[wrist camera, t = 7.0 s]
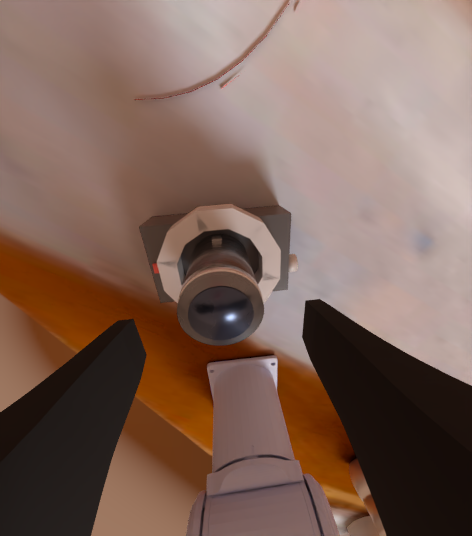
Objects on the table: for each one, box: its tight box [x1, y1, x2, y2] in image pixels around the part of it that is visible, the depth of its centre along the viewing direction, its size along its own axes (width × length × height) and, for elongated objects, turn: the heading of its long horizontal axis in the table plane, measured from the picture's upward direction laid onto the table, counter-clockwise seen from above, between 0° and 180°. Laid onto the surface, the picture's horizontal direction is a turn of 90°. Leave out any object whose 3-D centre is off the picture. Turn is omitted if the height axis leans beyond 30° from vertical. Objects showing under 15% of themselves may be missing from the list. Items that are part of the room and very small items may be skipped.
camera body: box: [139, 204, 298, 303], centre depth 16 cm, size 8×11×4 cm
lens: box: [177, 234, 264, 345], centre depth 12 cm, size 4×4×6 cm
